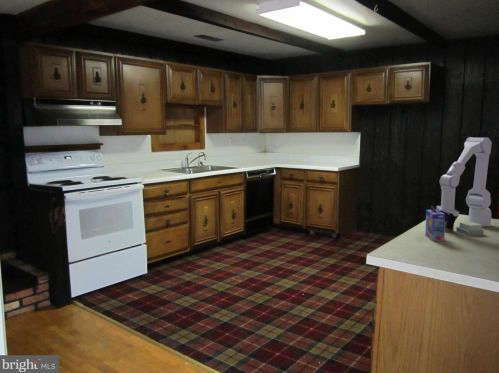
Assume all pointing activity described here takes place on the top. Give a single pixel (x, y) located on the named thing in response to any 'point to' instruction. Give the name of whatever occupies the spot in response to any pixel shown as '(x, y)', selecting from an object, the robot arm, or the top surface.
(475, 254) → the top surface
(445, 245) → the top surface
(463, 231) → the base tile
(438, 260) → the top surface
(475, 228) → the top tile
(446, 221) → the walnut cube
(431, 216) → the ink cartridge box
